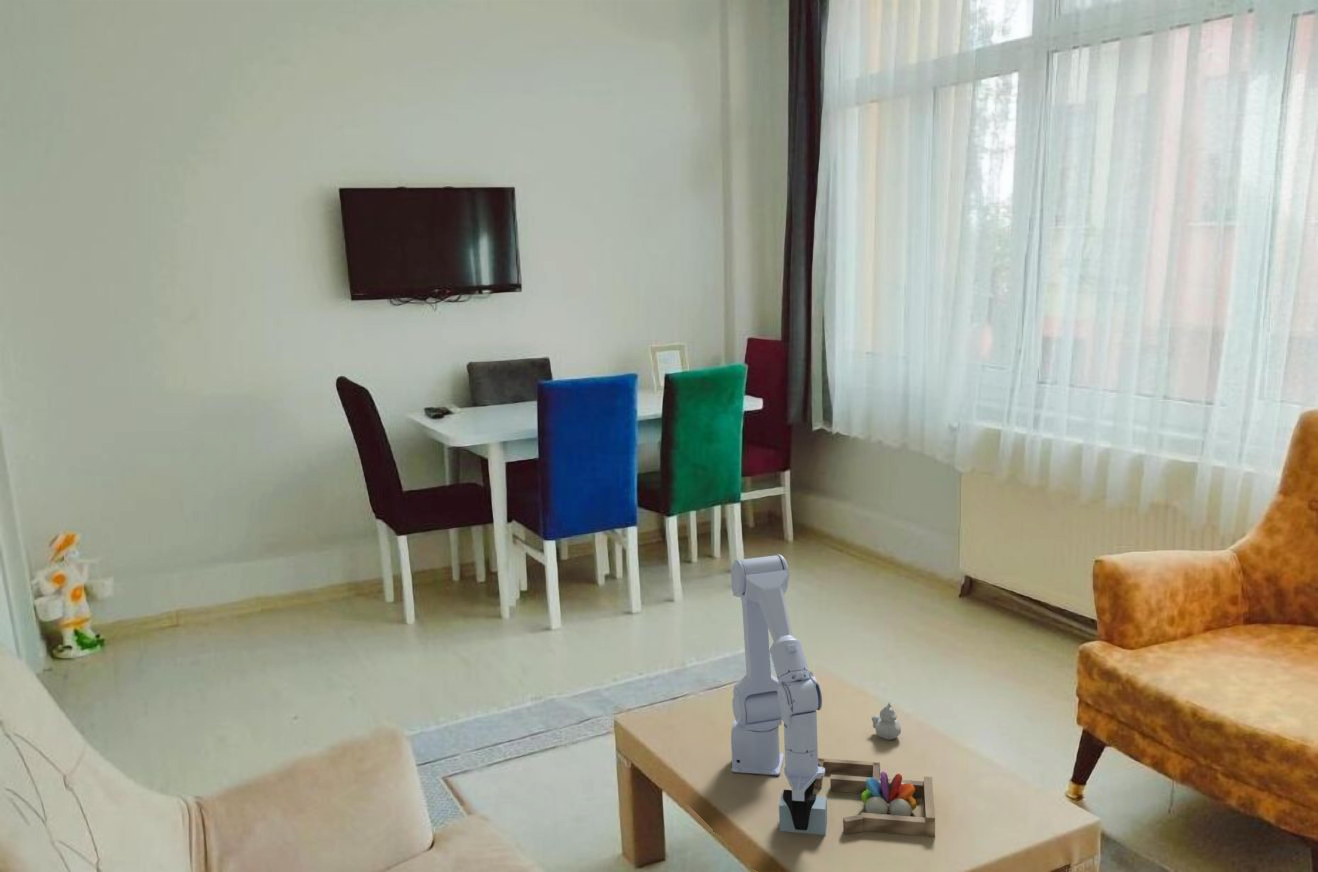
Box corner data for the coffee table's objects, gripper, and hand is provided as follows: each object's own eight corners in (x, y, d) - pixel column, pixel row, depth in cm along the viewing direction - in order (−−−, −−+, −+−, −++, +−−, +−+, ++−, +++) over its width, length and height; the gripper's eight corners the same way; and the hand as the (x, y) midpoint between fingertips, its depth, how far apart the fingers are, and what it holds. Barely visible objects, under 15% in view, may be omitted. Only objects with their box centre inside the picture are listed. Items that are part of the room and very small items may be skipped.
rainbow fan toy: (916, 826, 169) (916, 788, 168) (860, 821, 172) (859, 784, 171) (916, 800, 177) (916, 764, 176) (862, 795, 180) (862, 759, 179)
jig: (808, 831, 169) (807, 813, 169) (817, 767, 190) (817, 751, 190) (935, 842, 164) (935, 823, 164) (930, 775, 185) (930, 758, 185)
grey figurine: (892, 746, 197) (892, 710, 196) (865, 736, 202) (864, 700, 200) (906, 736, 201) (906, 700, 199) (879, 726, 205) (879, 691, 204)
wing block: (779, 831, 170) (779, 805, 169) (782, 818, 174) (781, 793, 173) (825, 835, 168) (825, 809, 167) (827, 822, 172) (826, 797, 171)
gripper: (821, 768, 160) (823, 842, 163) (827, 727, 174) (828, 796, 177) (778, 765, 162) (781, 838, 164) (787, 724, 176) (790, 793, 178)
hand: (803, 816), depth 171 cm, fingers open, 7 cm apart
